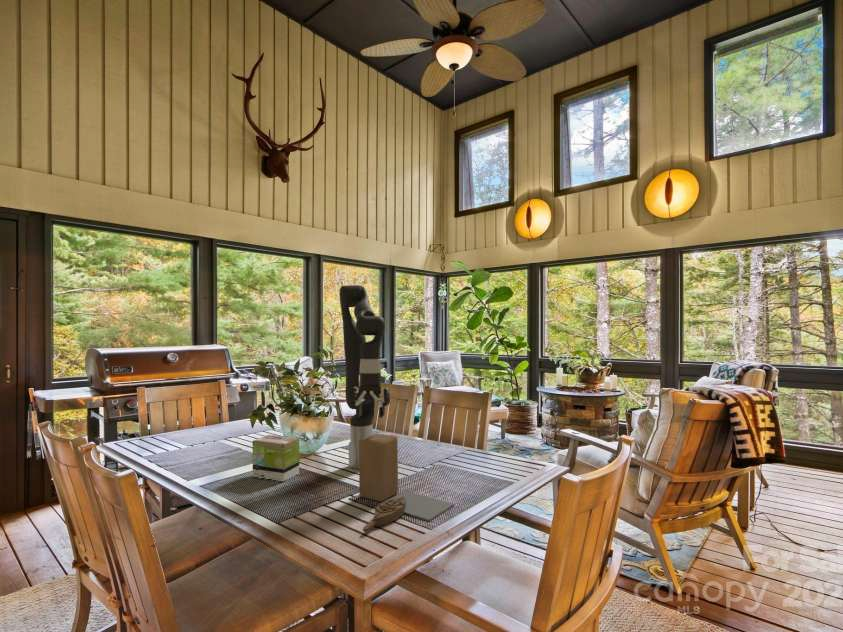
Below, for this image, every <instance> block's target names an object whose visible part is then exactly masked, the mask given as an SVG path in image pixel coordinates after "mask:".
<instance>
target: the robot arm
mask: <svg viewBox="0 0 843 632" xmlns="http://www.w3.org/2000/svg"><path fill="white" fill-rule="evenodd" d="M339 303H340V310H341V318H342V332H343V349H344V350H343V351H344V359H345V401H346V404H347V407H348V408H349V409H351V410H355V414H353V415H352V416H351V417H350V419H349V420H350V422H349V424H350V427H349V430H350V431H349V432H350V441H349V442H348V466H350V467H351V468H352V469H355V470H359V440H360V439H361V438H364V437H367V436H370V435H373V434H374V433H373V432H374V430H373V429H374V428H373V426H374V425H373V424H374V422H373V420H374V418H375V407H376V406H375V405H376V404H375V403H377V404H378V406H379V408H378V413H379V414H378V417H379V418H381V419H382V418H384V417H385V414H386V411H385V409H386V408H385V407H386V406H389V405H390V404H391V399H390V388H389V387H386V388H382V387H381V385H382V382H381V381H382V379H381V378H382V366H381V365H382V364H381V343H382V340H383V336H384V333H385V329H386V321H385V319H384V317H382V316H380V315H375V312H374V310H373V309H372V307H371V304H370V300H369V296H368V292H367V289H366V287H365V286H363V285H362V284H361V285H359V284H357V285H356V284H355V285H342V286H340V288H339ZM350 308H354V309H353V314H354V318H355V319H356V321H355V320H354V318H353V316H352V314H351V311H350ZM366 336H373V338H372V340H370V341H367V339H366ZM381 394H382V395H383V397H382V396H381Z"/></svg>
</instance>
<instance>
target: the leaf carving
mask: <svg viewBox="0 0 843 632" xmlns="http://www.w3.org/2000/svg"><path fill="white" fill-rule="evenodd" d="M387 500H388V499H387ZM384 501H385V503H384ZM384 501H382V502H383V503H382V502H380V503H381V504H380V503H379V504H378V505H377V506H376V508H375V510H374V513H373V519H372V520H370V521H369V522H368V523H367V524H366V525H364V526H363V527H362V531H363V532H365V533H367V532H369V531H370V530H372V529H373V528H375V527H380V526H384V525H386V524H389V523H391V522H394V521H396V520H397V519H400V518H401V517H402V515H404V514H403V513H404V511H405V508H406V497H404V498H403V497H400V498H395V499H391V500H388V501H386V500H384Z"/></svg>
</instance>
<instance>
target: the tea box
mask: <svg viewBox="0 0 843 632" xmlns="http://www.w3.org/2000/svg"><path fill="white" fill-rule="evenodd" d="M297 474H298V475H300V438H299V437H291V436H284V435H283V436H282V435H276V434H275V435H272V434H267V435H265V436H262V437H260V438H257V439H254V440H252V477H253V476H255V477H263V478H269V479H275V480H281V481H285V480H287V479H289V478H291V477H293V476H295V475H297ZM298 475H297V476H298ZM295 477H296V476H295ZM293 478H294V477H293ZM291 479H292V478H291Z"/></svg>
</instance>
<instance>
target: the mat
mask: <svg viewBox="0 0 843 632" xmlns="http://www.w3.org/2000/svg"><path fill="white" fill-rule="evenodd" d="M400 497H403V498H404V497H406V508H405V511H404V513H403V514H402V515H406V516H410V517H413V518H417V519H419V520H423V521H426V522H431V521H433V520H435V519H436V518H438V517H439V516H440V515H442V514H444V513H446V512H447V511H448V510H450V509H452V508H453V507H455V503H452V502H449V501H445V500H441V499H437V498H434V497H430V496H426V495H423V494H422V495H421V494H419V493H415V492H410V491H407V490H404V491H402V492H401V493H399V494H398V493H397V494H395V495H393V496H391V497H390V498H388V499H386V500H384V501H382V502H380V503H379V504H381V503H383V502H384V503H385V501H388V500H391V499H395V498H400Z"/></svg>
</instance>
